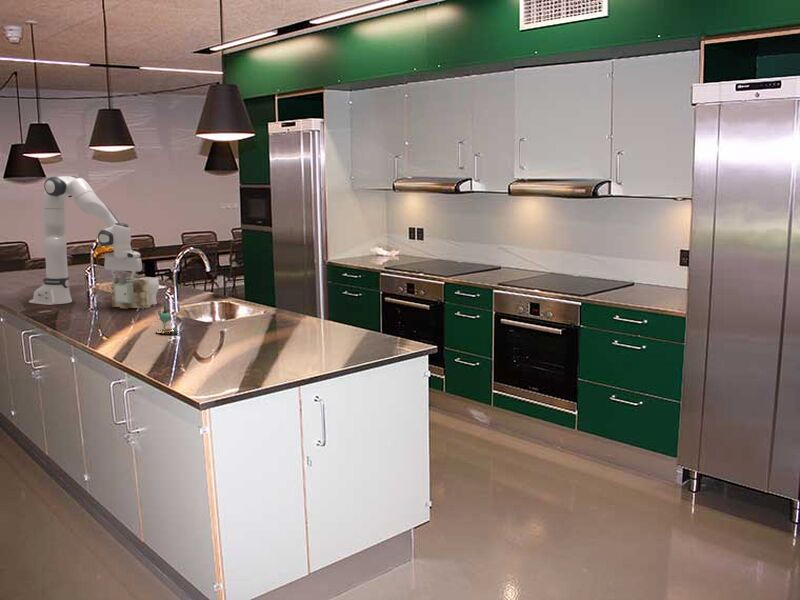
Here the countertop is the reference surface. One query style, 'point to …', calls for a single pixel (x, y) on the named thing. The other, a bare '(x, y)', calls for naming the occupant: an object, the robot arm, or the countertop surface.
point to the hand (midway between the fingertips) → (123, 279)
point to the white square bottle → (124, 290)
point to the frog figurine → (165, 320)
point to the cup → (152, 289)
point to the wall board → (139, 294)
